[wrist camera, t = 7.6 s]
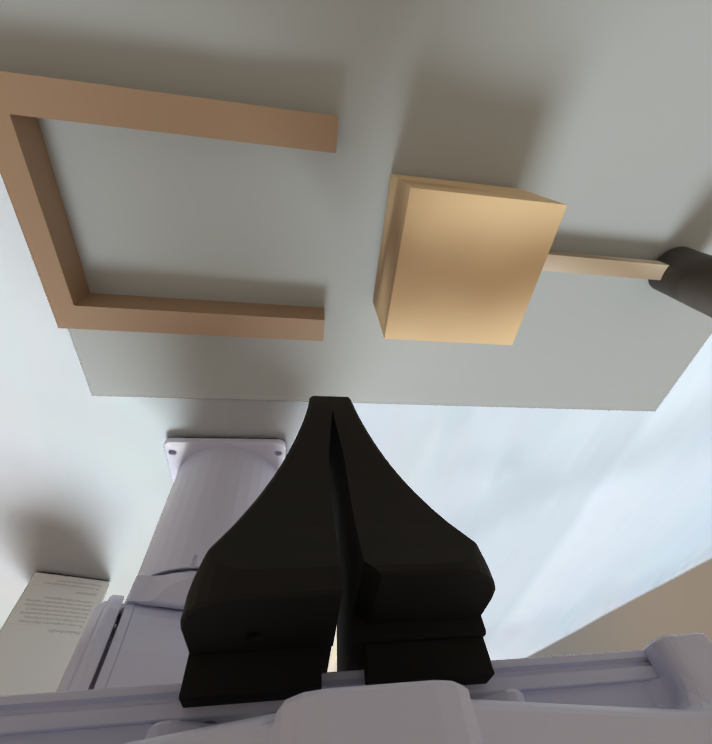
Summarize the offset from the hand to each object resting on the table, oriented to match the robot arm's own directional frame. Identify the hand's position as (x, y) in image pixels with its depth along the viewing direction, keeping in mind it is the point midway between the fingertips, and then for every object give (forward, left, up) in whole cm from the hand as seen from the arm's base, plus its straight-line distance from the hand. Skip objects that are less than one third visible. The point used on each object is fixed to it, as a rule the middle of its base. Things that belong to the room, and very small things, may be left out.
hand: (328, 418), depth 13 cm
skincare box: (-29, +21, -10) cm, 37 cm away
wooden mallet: (+4, -11, -8) cm, 14 cm away
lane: (+4, -6, -9) cm, 12 cm away
